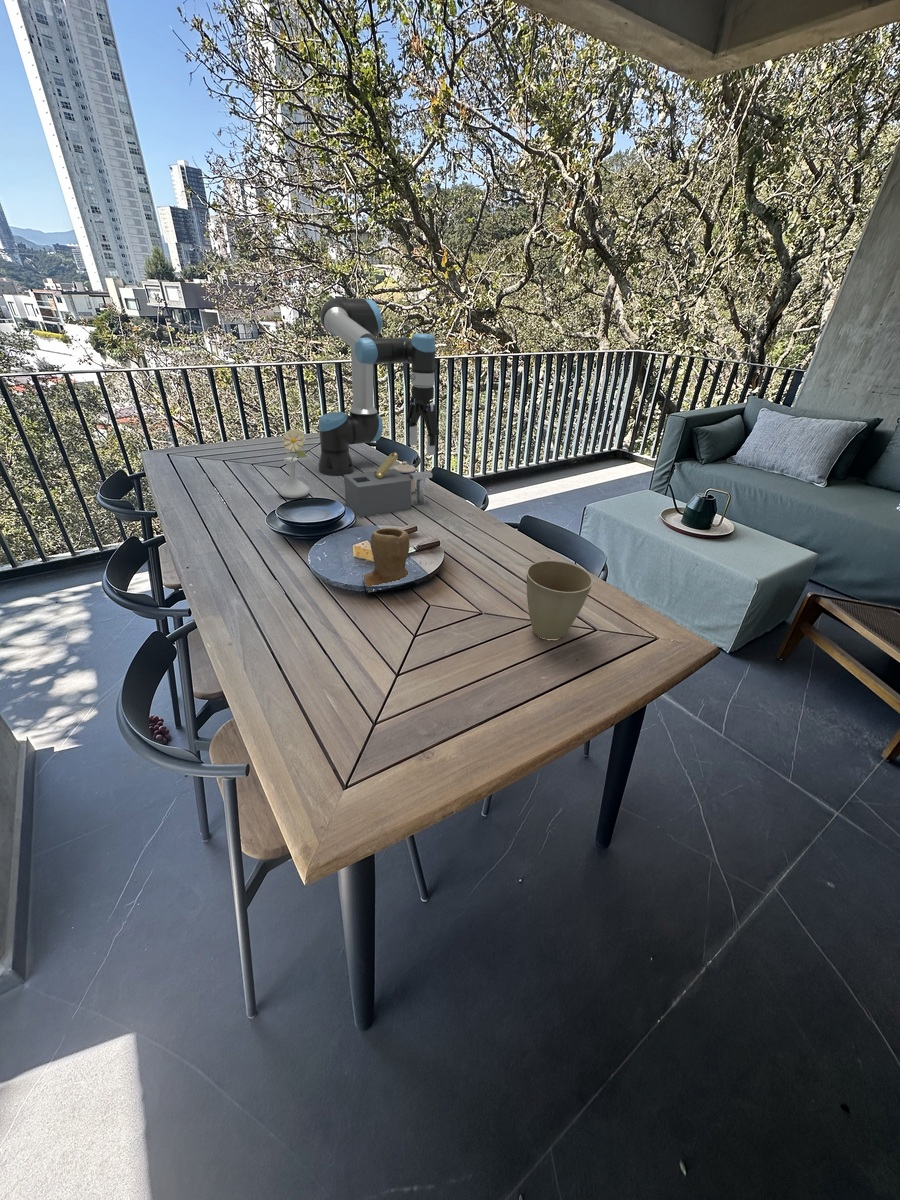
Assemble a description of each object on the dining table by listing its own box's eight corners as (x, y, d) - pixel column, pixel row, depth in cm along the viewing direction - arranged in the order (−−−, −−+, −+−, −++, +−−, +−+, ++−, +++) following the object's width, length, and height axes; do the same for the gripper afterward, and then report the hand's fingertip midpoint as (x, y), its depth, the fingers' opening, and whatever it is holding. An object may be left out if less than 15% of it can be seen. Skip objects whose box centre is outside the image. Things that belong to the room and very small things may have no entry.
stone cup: (402, 567, 145) (403, 519, 137) (420, 586, 137) (422, 536, 129) (353, 578, 139) (350, 528, 131) (368, 598, 130) (366, 546, 122)
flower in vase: (272, 497, 187) (262, 428, 173) (291, 488, 196) (283, 422, 182) (301, 503, 183) (294, 434, 169) (320, 494, 192) (313, 427, 178)
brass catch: (376, 476, 180) (373, 473, 179) (395, 453, 180) (392, 450, 178) (381, 479, 177) (378, 477, 176) (400, 456, 176) (397, 453, 175)
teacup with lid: (410, 485, 205) (411, 457, 199) (419, 493, 198) (419, 464, 192) (383, 488, 201) (382, 460, 194) (390, 496, 194) (390, 466, 187)
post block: (345, 503, 185) (343, 474, 179) (394, 496, 194) (394, 468, 188) (359, 517, 175) (358, 487, 169) (410, 509, 183) (411, 480, 178)
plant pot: (566, 659, 113) (579, 599, 104) (507, 636, 119) (515, 578, 111) (588, 628, 124) (601, 572, 115) (533, 608, 130) (542, 554, 121)
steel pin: (409, 503, 188) (409, 473, 182) (427, 500, 192) (428, 471, 186) (412, 506, 186) (413, 475, 180) (431, 503, 190) (432, 473, 184)
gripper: (396, 380, 174) (397, 442, 185) (430, 392, 156) (428, 460, 167) (416, 379, 178) (415, 440, 189) (451, 391, 160) (448, 457, 171)
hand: (421, 449), depth 178 cm, fingers open, 13 cm apart
